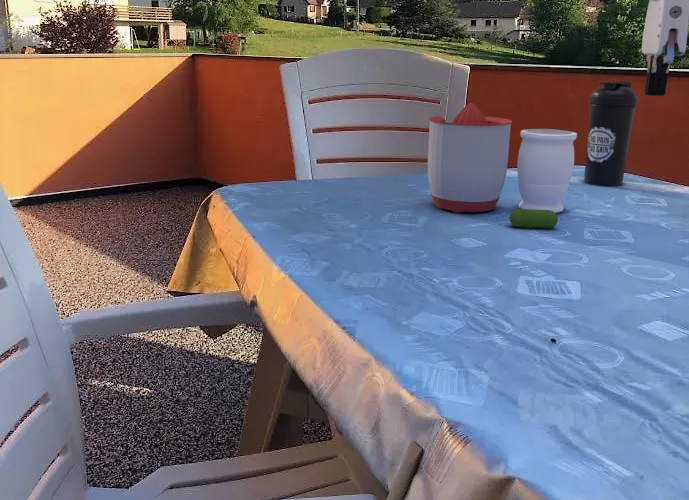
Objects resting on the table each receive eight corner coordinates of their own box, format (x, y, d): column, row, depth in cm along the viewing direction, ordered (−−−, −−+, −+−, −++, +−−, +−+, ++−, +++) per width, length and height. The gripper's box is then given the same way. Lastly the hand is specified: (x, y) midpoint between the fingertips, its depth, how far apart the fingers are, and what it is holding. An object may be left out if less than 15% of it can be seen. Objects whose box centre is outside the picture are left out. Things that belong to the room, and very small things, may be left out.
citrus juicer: (476, 195, 149) (483, 98, 143) (520, 214, 133) (530, 106, 128) (408, 198, 144) (412, 99, 139) (445, 218, 129) (452, 107, 123)
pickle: (554, 226, 125) (556, 208, 124) (558, 230, 122) (560, 212, 121) (507, 224, 126) (509, 206, 125) (510, 228, 123) (511, 211, 122)
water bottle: (571, 181, 165) (583, 80, 159) (593, 177, 172) (605, 79, 166) (612, 188, 158) (626, 83, 152) (634, 183, 165) (647, 82, 158)
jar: (524, 201, 144) (531, 126, 140) (575, 208, 139) (584, 131, 135) (505, 210, 136) (511, 132, 132) (558, 218, 130) (567, 136, 126)
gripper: (708, -13, 119) (691, 99, 124) (675, -7, 133) (661, 93, 138) (662, -14, 119) (647, 97, 124) (634, -8, 133) (621, 92, 139)
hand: (654, 95), depth 131 cm, fingers closed
